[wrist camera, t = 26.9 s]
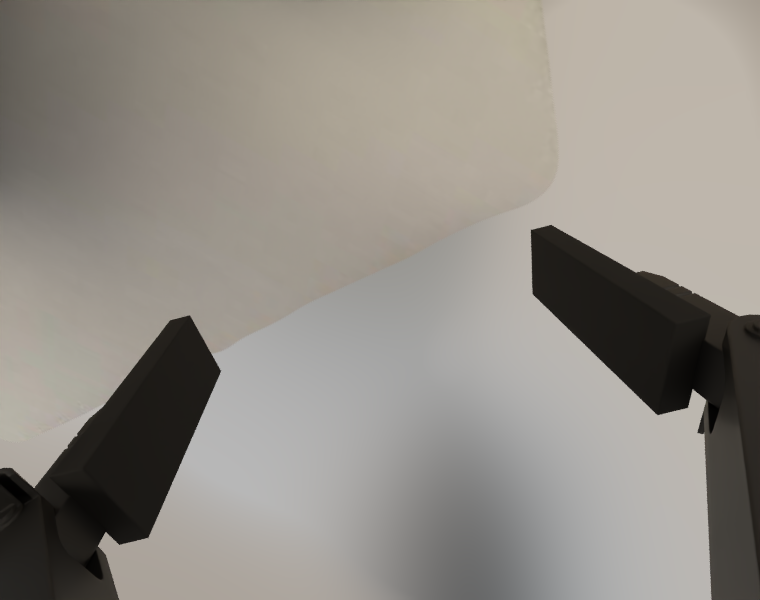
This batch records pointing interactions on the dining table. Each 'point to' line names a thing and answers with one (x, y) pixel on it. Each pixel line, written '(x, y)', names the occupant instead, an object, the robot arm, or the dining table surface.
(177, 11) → the dining table surface
